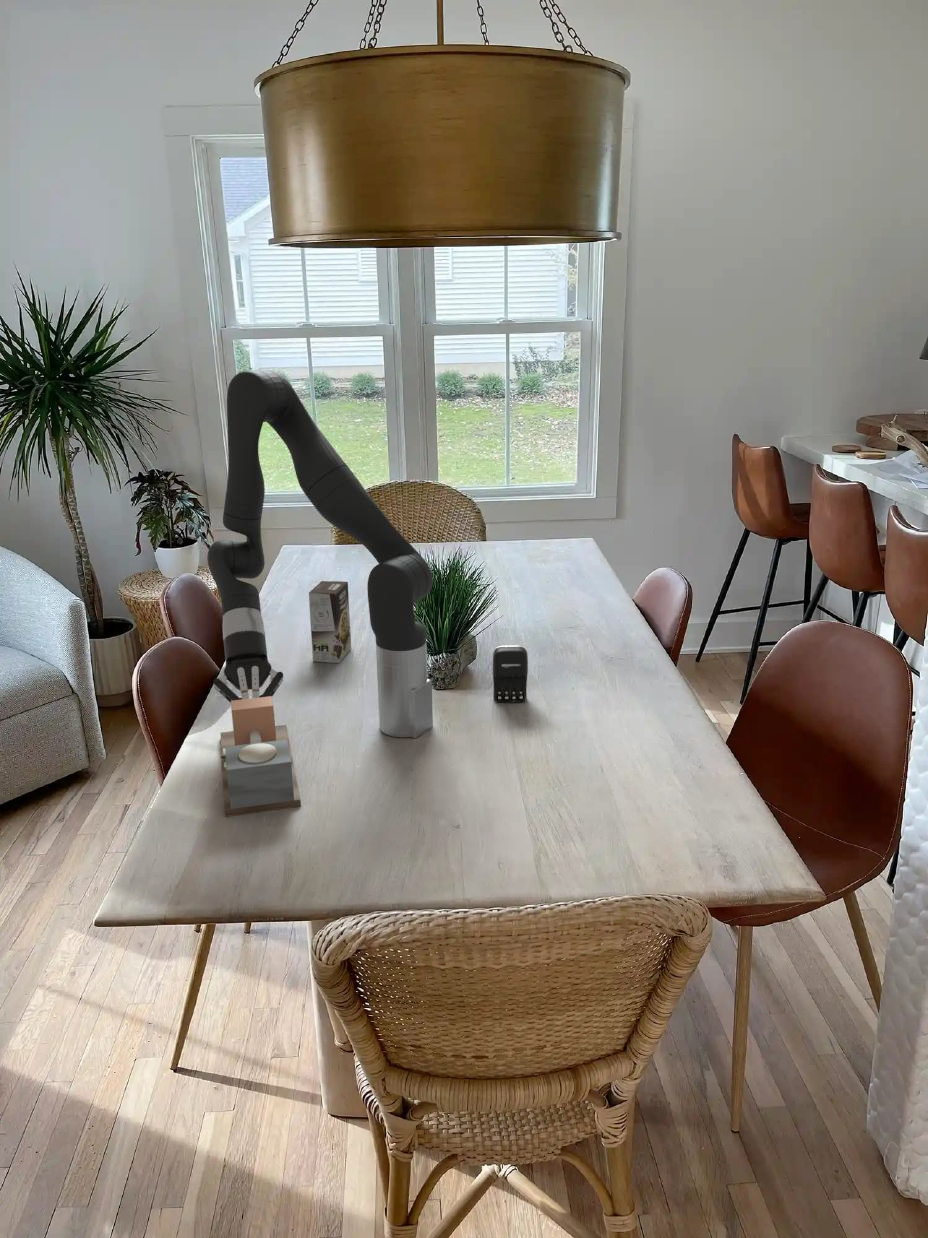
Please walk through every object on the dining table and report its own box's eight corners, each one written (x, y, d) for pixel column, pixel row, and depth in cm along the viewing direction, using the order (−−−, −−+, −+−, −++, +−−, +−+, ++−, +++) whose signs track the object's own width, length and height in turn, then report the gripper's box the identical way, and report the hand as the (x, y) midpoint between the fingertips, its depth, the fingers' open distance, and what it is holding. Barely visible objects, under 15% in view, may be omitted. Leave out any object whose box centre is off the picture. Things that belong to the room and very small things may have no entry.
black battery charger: (492, 705, 193) (492, 651, 189) (492, 697, 196) (492, 644, 192) (528, 705, 193) (528, 651, 189) (527, 697, 196) (527, 644, 192)
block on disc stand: (220, 754, 171) (215, 702, 168) (276, 747, 174) (271, 696, 170) (221, 778, 163) (216, 725, 160) (280, 771, 165) (275, 718, 162)
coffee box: (339, 663, 213) (335, 594, 208) (312, 661, 214) (307, 592, 209) (352, 648, 222) (349, 580, 216) (325, 646, 223) (321, 579, 217)
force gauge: (221, 738, 180) (216, 696, 177) (286, 730, 183) (283, 688, 180) (224, 816, 155) (219, 768, 152) (301, 806, 158) (297, 758, 155)
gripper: (206, 632, 175) (214, 723, 168) (280, 625, 178) (291, 714, 171) (208, 649, 182) (216, 737, 175) (280, 642, 185) (290, 728, 178)
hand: (253, 726), depth 173 cm, fingers closed
